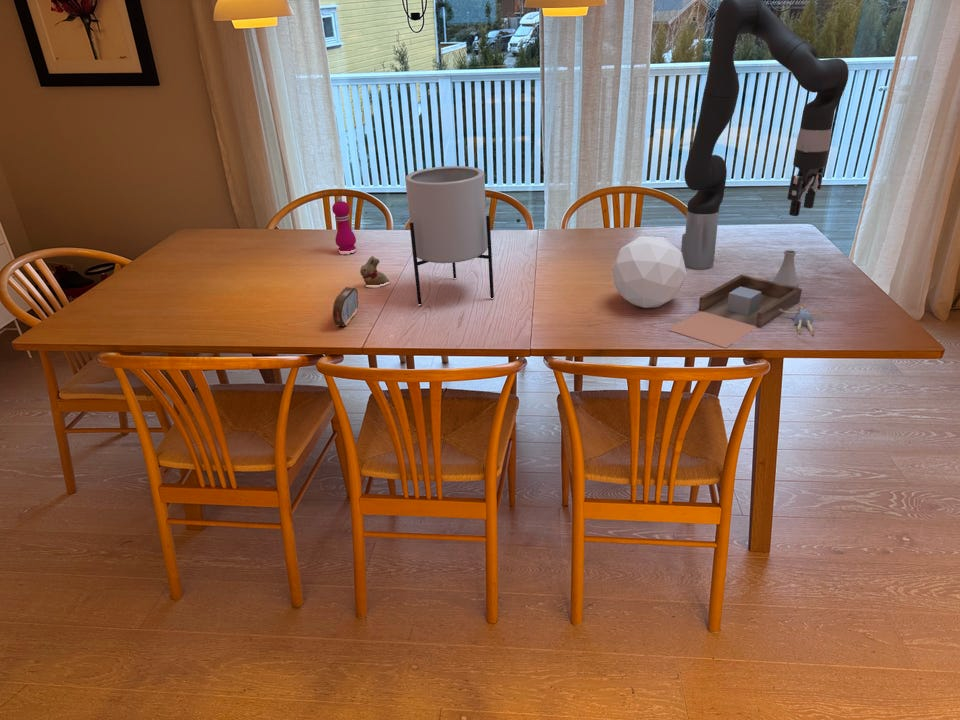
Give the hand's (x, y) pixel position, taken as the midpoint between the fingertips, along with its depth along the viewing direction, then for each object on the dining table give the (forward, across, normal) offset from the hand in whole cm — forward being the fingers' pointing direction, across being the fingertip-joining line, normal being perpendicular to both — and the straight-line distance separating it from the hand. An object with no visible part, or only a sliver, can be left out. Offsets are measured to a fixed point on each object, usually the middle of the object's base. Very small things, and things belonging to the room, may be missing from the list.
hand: (801, 211), depth 178 cm
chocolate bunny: (+26, +64, -101) cm, 123 cm away
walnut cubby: (+24, +11, -5) cm, 27 cm away
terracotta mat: (+24, +30, -6) cm, 39 cm away
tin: (+26, +85, -86) cm, 124 cm away
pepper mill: (+27, +50, -137) cm, 148 cm away
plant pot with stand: (+26, +54, -75) cm, 96 cm away
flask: (+25, -10, -4) cm, 27 cm away
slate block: (+24, +14, -5) cm, 29 cm away
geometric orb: (+25, +26, -27) cm, 45 cm away
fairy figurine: (+25, +14, +11) cm, 30 cm away
